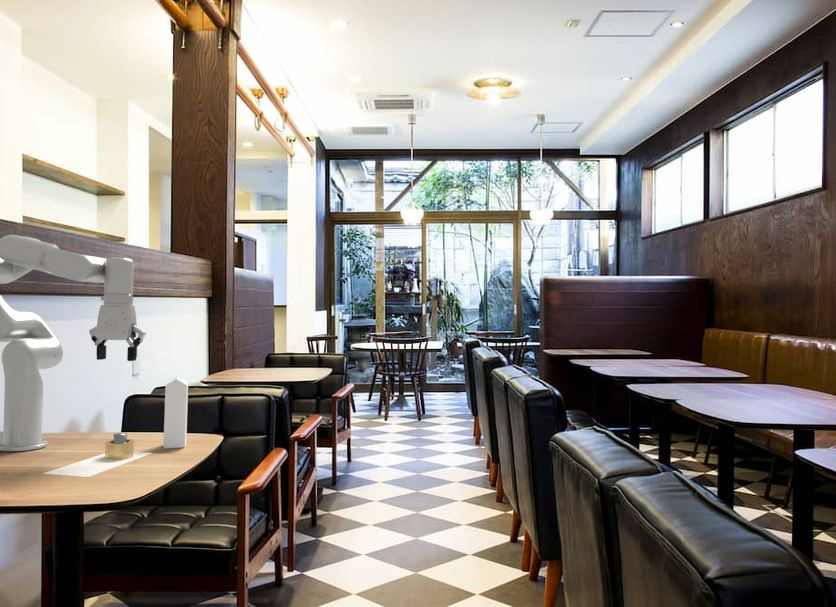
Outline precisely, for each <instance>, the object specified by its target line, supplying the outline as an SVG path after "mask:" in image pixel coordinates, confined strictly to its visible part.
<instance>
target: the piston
mask: <svg viewBox="0 0 836 607" xmlns="http://www.w3.org/2000/svg"><path fill="white" fill-rule="evenodd" d="M127 439H128V433H127V432H117V433H116V432H115V433H114V434H113V440H114V441H113V443H126V442H127Z"/></svg>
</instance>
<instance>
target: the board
mask: <svg viewBox="0 0 836 607" xmlns="http://www.w3.org/2000/svg"><path fill="white" fill-rule="evenodd" d="M151 454H153V452H145V451H143V452H142V451H134V455H133V457H130V458H126V459H107V458H105V452H104V453H102V454H99V455H96V456H92V457H89V458H87V459H83V460H80V461H77V462H74V463H70V464H68V465H65V466H62V467H59V468H56V469H53V470H49V471H47V472H43V473H42V474H43V475H56V476H69V477H70V476H71V477H83V478H90V477H92V476H95V475H97V474H98V475H99V474H100V473H103V472H106V471H108V470H111V469H113V468H114V469H115V468H117V467H120V466H123V465H125V464H127V463H131V462H133V461H136V460H138V459H141V458H144V457H147V456H149V455H151Z"/></svg>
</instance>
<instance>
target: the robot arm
mask: <svg viewBox="0 0 836 607" xmlns="http://www.w3.org/2000/svg"><path fill="white" fill-rule="evenodd" d="M134 267H135V262H134V260H132V259H131V258H127V257H119V256H118V257H115V256H113V257H108V258H105V257H100V256H95V255H88V254H81V253H77V252H72V251H67V250H64V249H60V248H59V246H58V245H57V244H54V243H50V242H46V241H41V240H40V239H37V238H34V237H30V236H24V235H23V236H22V235H18V234H17V235H16V234H9V235H5V236H3V237H0V285H5V284H6V285H7V284H10V283H12V282H14V281H16V280H17V279H19V278H21V277H23V276H25V275H26V274H28V273H30V272H31V271H33V270H34V271H35V270H36V271H39V272H43V273H46V274H49V275H53V276H56V277H60V278H63V279H68V280H71V281H76V282H81V283H82V282H85V283H86V282H87V283H97V284H104V287H103V296H101V297H100V301H102V302H103V304H101V305H100V307H99V310H98V315H97V321H96V322H97V323H96V326H95V327H93V328H91V329H89V330H88V333H89V335H90V337H91V341H92V342H93V343H94V345H95V346H96V360H97V361H101V360H106V359H107V345H105V344H106V343H107V342H108V341H126V343H127V344H128V345H129V346H128V347H127V357H126V358H127V361H128V362H134V361H137V357H138V347H140V344H141V343H142V342H143V341H144V338H145V336H146V334H147V331H145V330H143V329H142V328H141V327H138V326H137V325H138V324H137V314H136V307H135V306H134V302H133V301H134V272H135V268H134ZM0 342H1V343H7V344H5V346H4V347H3V350H2V352H1V363H2V368H3V375H4V397H3V398H4V399H3V400H4V402H3V403H4V405H3V429H2V431H0V452H23V451H26V452H27V451H33V450H37V449H42V448H45V447H47V446H48V440H46V439H43V438H42V436H43V433H42V432H43V408H44V407H43V406H44V405H43V404H44V383H43V382H44V381H43V379H42V376H41V373H40V370H46V369H51V368H54V367H56V366H58V365H59V364H60V363H61V361H62V359H63V355H64V351H63V347H62V344H61V342H60V341H59V339H57V337H56V336H55V334H54V333H53V332H52V331H51V329H50V328H49V326H48V325H47V324H46V323H45V321H44V320H43V318H42V317H41V316H39V315H38V314H37V313H35V312H33V311H30V310H25V309H14V308H12V307H11V306H10V305H9V304H8V303H7V301H6V300H5V298H4V297H3V296H2V295H1V294H0Z"/></svg>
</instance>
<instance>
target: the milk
mask: <svg viewBox="0 0 836 607" xmlns="http://www.w3.org/2000/svg"><path fill="white" fill-rule="evenodd" d="M175 374H176V375H175V376H176V377H175V378H172V379H171V380H170V381H168V382H167V383H166V384H165V389H164V396H165V397H164V422H163V423H164V424H163V449H175V448H176V449H178V448H181V449H182V448H184V449H185V448H186V446H187V432H188V428H187V427H188V398H189V382H188V381H186V380H185V379H182V378H181V377H180V376H179V372H177V373H175Z"/></svg>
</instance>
